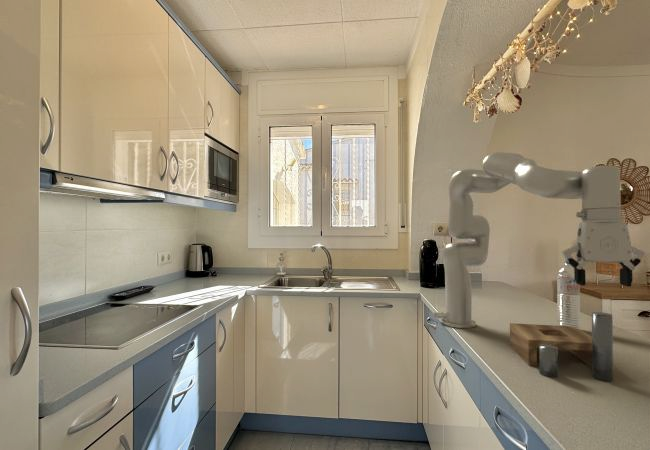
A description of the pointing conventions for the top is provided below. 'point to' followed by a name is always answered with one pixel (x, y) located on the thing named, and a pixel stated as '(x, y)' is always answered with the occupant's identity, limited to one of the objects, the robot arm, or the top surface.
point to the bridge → (549, 341)
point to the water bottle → (568, 297)
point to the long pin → (602, 346)
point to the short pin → (548, 360)
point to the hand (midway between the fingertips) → (602, 285)
